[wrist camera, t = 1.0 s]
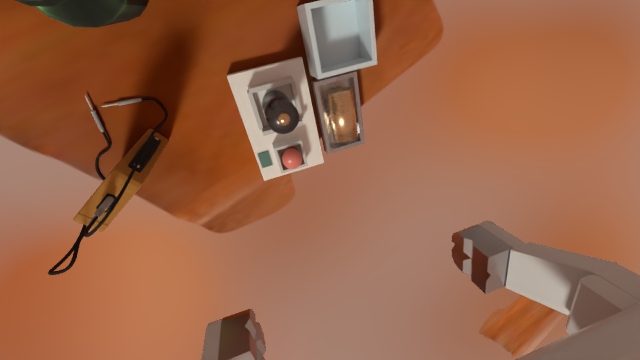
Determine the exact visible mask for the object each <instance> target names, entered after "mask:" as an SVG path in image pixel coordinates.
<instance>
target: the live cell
mask: <svg viewBox="0 0 640 360" xmlns="http://www.w3.org/2000/svg"><path fill="white" fill-rule="evenodd" d="M326 98H327V104H328V110H329V115H330V121H331V127H332V132H333V138H334V140H335V141H337V142H348V141H351V140H354V139H355V138H357V137H358V130H357V122H356V114H355V105H354V97H353V89H352V88H351V87H339V88H335V89H332V90H329V91H327V92H326Z"/></svg>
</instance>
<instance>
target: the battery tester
mask: <svg viewBox="0 0 640 360" xmlns="http://www.w3.org/2000/svg"><path fill="white" fill-rule="evenodd" d="M227 78H228V81H229V84H230V87H231V89H232V92H233V95H234V98H235V101H236V103H237V106H238V109H239V112H240V114H241V117H242V120H243V123H244V126H245V128H246V131H247V134H248V137H249V140H250V142H251V145H252V148H253V151H254V154H255V156H256V159H257V162H258V165H259V167H260V170H261V173H262V176H263V179H264V181H265V180H269V179H272V178H275V177H279V176H282V175H285V174H288V173H292V172H295V171H298V170H301V169H305V168H308V167H311V166H314V165H317V164H321V163H324V161H323V156H322V151H321V146H320V141H319V136H318V131H317V127H316V122H315V117H314V112H313V107H312V103H311V98H310V93H309V88H308V83H307V79H306V74H305V69H304V64H303V59H302V57H296V58H292V59H288V60H284V61H280V62H276V63H271V64H267V65H263V66H259V67H255V68H251V69H247V70H243V71H239V72H235V73H231V74H227ZM273 90H278V91H281V92H283V93H284V94H285V95H286V96H287V97H288V98H289V100H290V101H291V102H292V104H293V105H294V106H295V107H296V109H297V110H298V113H299V123H298V125H297V127H296V128H295V129H294V130H293V131H292V132H290V133H287V134H279V133H276V132H274V131H273V130H272V129H271V128H270V127H269V125H268V123H267V120H266V117H265V114H264V111H263V108H262V100H263V97H264V96H265V95H266V94H267V93H268V92H270V91H273ZM287 147H295V148H297V149H298V151H299V152H300V154H301V156H302V163H301V165H300V166H299V167H297V168H295V169H289V168H287V167H285V165H284V163H283V161H282V158H281V154H282V151H283V150H284V149H285V148H287Z"/></svg>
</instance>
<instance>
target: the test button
mask: <svg viewBox="0 0 640 360" xmlns="http://www.w3.org/2000/svg"><path fill="white" fill-rule="evenodd" d="M281 158H282V161H283V163H284V165H285V167H287V168H289V169H295V168H297V167H299V166H300V165H301V163H302V156H301V154H300V152H299V151H298V149H297V148H295V147H287V148H285V149H284V150H283V151H282V154H281Z"/></svg>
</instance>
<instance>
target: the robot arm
mask: <svg viewBox="0 0 640 360" xmlns="http://www.w3.org/2000/svg"><path fill="white" fill-rule="evenodd" d="M452 242H453V243H454V244H455V245H454V247H453V248H452V258H453V260H454V263H455V264H456V266H457V267H458V268H459V269H460V270H461V271H462V272H463V273H465V274H468V275H471V280H472V282H473V283H474V284H475V285H476V286H477V287H478V288H479V289H481V290H482V291H483V292H484V293H485V294H486V293H489V292H491V291H494V290H497V289H500V288H502V287H505V286H506V288H508V289H510V290H512V291H514V292H517V293H519V294H521V295H523V296H525V297H528V298H530V299H532V300H534V301H537V302H539V303H541V304H543V305H546V306H548V307H550V308H552V309H555V310H557V311H559V312H561V313H564V314H566V315H568V320H567V323H566V331H567V332H568V333H569V334H570V335H568V336H566V337H564V338H561V339H560V340H557V341H555V342H553V343H550V344H548V345H546V346H544V347H542V348H540V349H538V350H535V351H533V352H531V353H529V354H526V355H524V356H522V357H520V358H518V359H516V360H640V275H638V274H636V273H634V272H632V271H630V270H628V269H626V268H625V267H623V266H621V265H619V264H617V263H615V262H611V261H607V260H602V259H598V258H594V257H590V256H585V255H581V254H576V253H572V252H568V251H564V250H560V249H556V248H551V247H547V246H543V245H538V244H534V243H527V244H526V243H524V242H523V241H521V240H519V239H518V238H516V237H515V236H513V235H512V234H510V233H508V232H507V231H505V230H504V229H502V228H500V227H499V226H497V225H496V224H494V223H493V222H491V221H484V222H482V223H479V224H477V225H474V226H471V227H468V228H466V229H463V230H461V231H458V232H456V233H453V235H452ZM265 351H266V346H265V339H264V334H263V331H262V328H261V325H260V323H258V322H256V318H255V313H254V311H253V310H252V309H248V310H245V311H242V312H239V313H236V314H234V315H231V316H228V317H225V318H223V319H220V320H217V321H214V322H211V323H209V324H208V326H207V328H206V333H205V340H204V346H203V353H202V359H201V360H265V359H264V357H263V355H264V353H265Z"/></svg>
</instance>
